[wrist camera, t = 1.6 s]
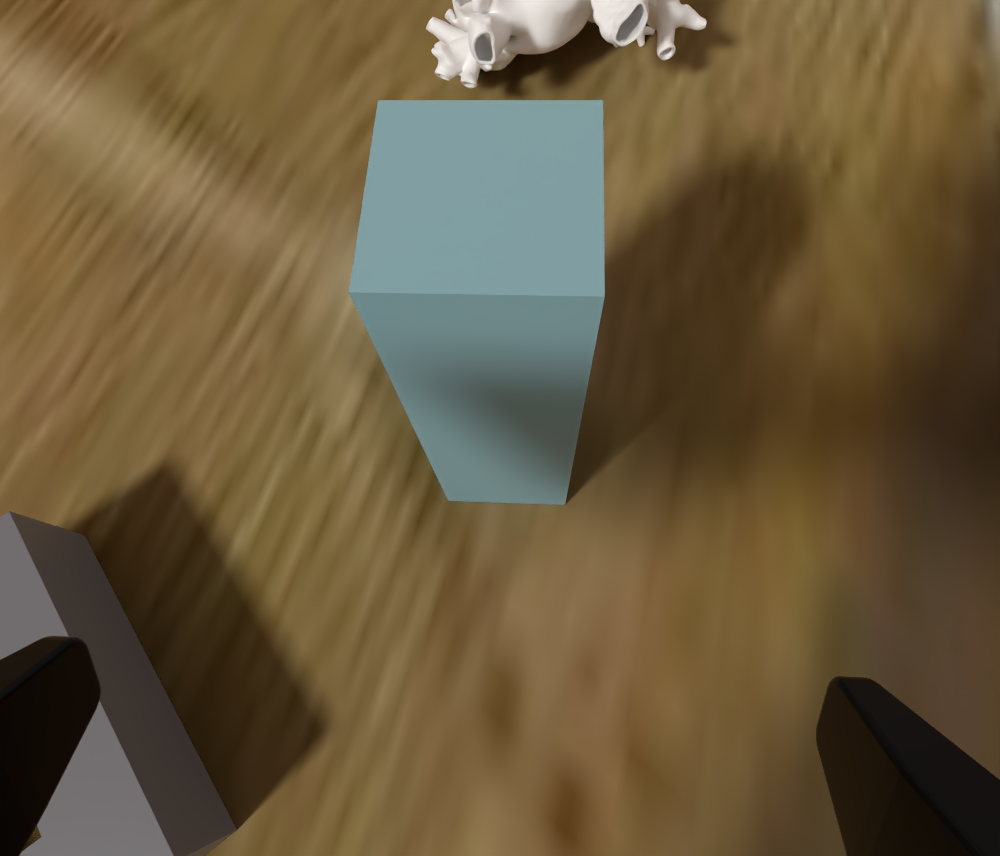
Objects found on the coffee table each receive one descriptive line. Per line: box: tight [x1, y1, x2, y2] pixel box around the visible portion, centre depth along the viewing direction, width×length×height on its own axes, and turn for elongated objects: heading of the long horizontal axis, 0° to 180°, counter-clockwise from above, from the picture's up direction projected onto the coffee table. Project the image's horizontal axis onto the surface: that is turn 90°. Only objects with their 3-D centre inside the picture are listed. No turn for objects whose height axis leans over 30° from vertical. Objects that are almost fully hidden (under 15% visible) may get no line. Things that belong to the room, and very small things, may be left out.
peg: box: [349, 100, 605, 505], centre depth 17 cm, size 4×4×13 cm
